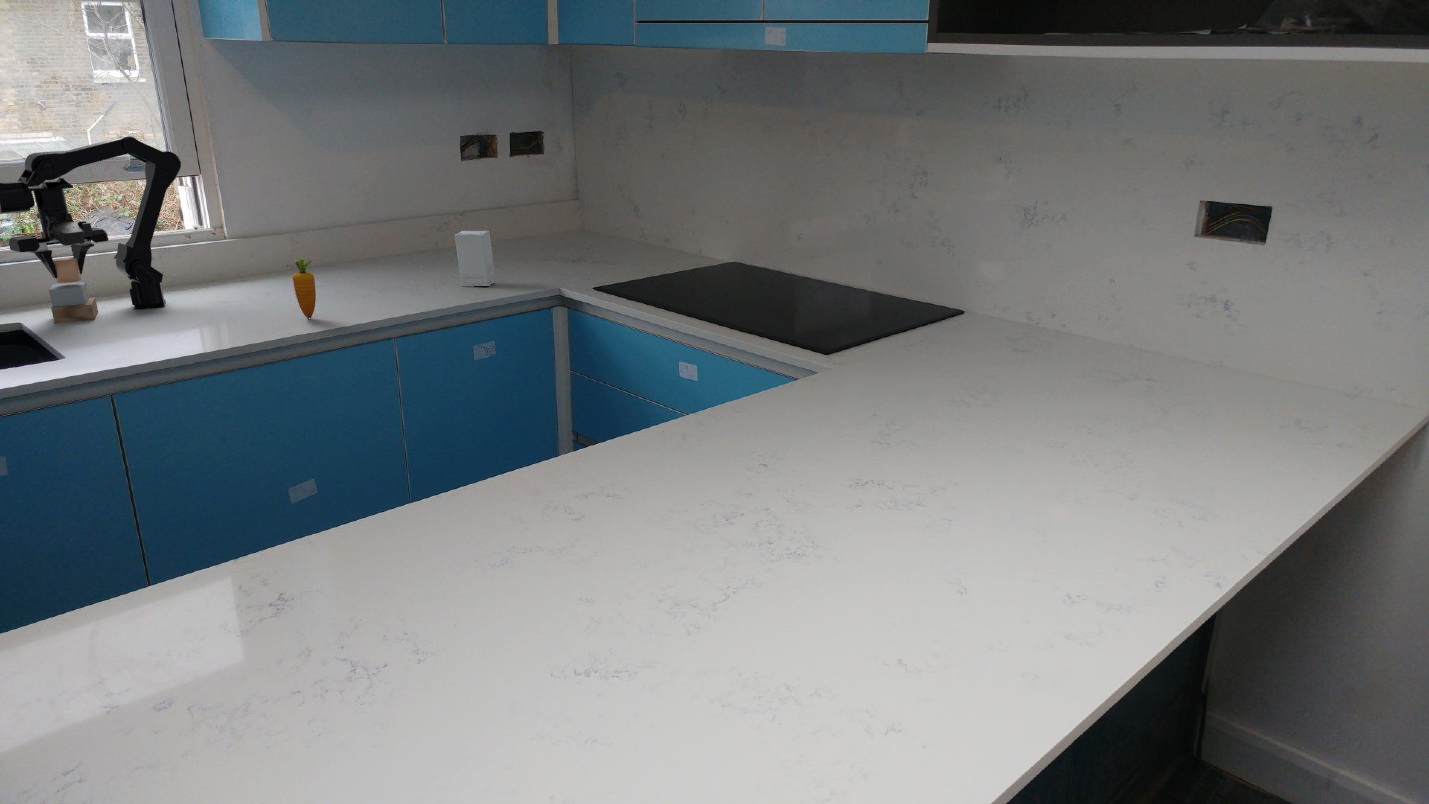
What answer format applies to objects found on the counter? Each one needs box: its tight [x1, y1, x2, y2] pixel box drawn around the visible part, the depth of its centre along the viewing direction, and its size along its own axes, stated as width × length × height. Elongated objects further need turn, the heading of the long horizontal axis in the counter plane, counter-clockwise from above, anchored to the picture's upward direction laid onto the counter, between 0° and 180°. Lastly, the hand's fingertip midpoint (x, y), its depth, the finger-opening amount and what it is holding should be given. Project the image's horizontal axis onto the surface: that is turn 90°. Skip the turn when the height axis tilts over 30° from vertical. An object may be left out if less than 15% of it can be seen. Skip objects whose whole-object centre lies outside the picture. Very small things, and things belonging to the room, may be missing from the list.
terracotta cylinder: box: [53, 256, 82, 284], centre depth 222 cm, size 5×5×5 cm
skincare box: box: [454, 230, 496, 287], centre depth 260 cm, size 8×6×15 cm
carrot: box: [292, 257, 317, 320], centre depth 224 cm, size 5×5×15 cm
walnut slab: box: [50, 297, 99, 324], centre depth 225 cm, size 8×8×4 cm
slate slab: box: [48, 281, 90, 307], centre depth 224 cm, size 6×6×4 cm
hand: (67, 276), depth 222 cm, fingers closed on terracotta cylinder, 5 cm apart
